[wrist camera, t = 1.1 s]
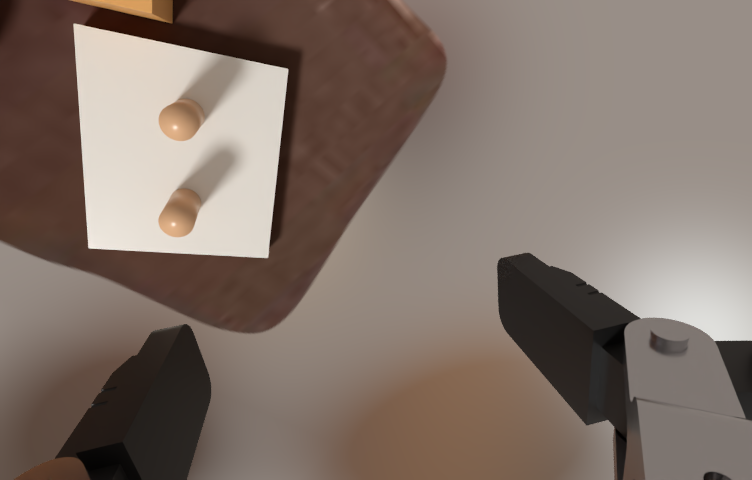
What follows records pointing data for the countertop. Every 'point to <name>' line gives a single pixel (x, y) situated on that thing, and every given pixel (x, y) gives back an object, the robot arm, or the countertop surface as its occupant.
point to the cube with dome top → (138, 7)
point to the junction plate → (177, 146)
